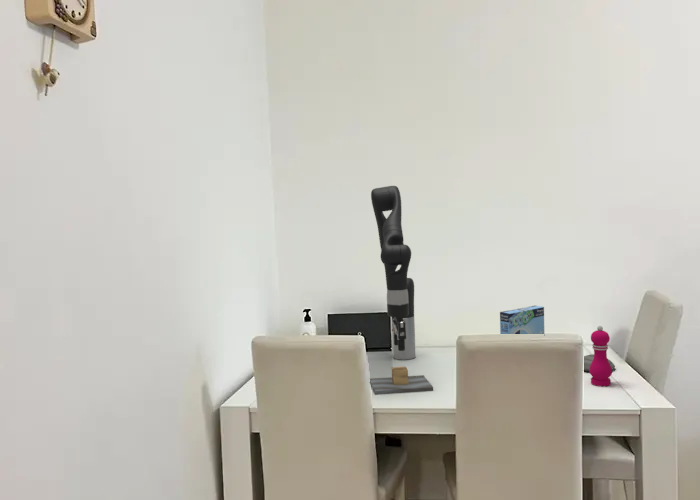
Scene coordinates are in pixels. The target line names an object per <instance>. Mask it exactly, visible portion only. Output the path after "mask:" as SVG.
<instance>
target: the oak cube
mask: <svg viewBox="0 0 700 500" xmlns="http://www.w3.org/2000/svg"><path fill="white" fill-rule="evenodd" d="M408 376H409V369H408V368H407V367H406V366H395V367H394V366H393V367H391V377H392V382H393V384H394V385H404V384H408Z"/></svg>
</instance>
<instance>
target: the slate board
mask: <svg viewBox="0 0 700 500" xmlns="http://www.w3.org/2000/svg"><path fill="white" fill-rule="evenodd" d="M369 379H370V382H369V384H370V386H371V388H372V391H373V394H374V395H386V394H387V395H388V394H390V395H391V394H402V393H403V394H404V393H418V392H419V393H420V392H431V391H432V392H433V391H434V387H433V385H432V384H431V383H430V381H429V380H428V379H427V378H426V376H425V375H424V374H423V375H420V374H419V375H408V384H404V385H394V384H393V382H392V376H391V377H375V378H374V377H373V378H369Z"/></svg>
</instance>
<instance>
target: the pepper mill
mask: <svg viewBox="0 0 700 500" xmlns="http://www.w3.org/2000/svg"><path fill="white" fill-rule="evenodd" d="M603 329H604V328H603V326H601V325H599V326H597V329H596V330H595V331H593V332H592V333H591V335H590V340H591V342H592V343H593V344H591V345H592V349H593V354H594V358H593V361H592V363H591V365H590V369H589V371H588V372H589V374H590V376H592V377H591V378H590V384H591V385H593V386H596V387H609V386H611V384H612V383H611V380H612V379H611V378H610V377H611V376H612V374H613V369H611V366H610V364H609V362H608V360H607V359H608V355H607V351H608V350H609V342H610V339H611V338H610V334H609V333H608V332H607V331H605V330H603Z"/></svg>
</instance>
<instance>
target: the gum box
mask: <svg viewBox="0 0 700 500" xmlns="http://www.w3.org/2000/svg"><path fill="white" fill-rule="evenodd" d="M499 322H500V323H499V327H500V328H499V329H500V330H499V331H500V334H544V335H545V307H544V306H543V305H532V306H531V305H530V306H526V307H521V308H516V309H515V308H514V309H511V310H504V311H500V312H499ZM500 334H499V335H500Z"/></svg>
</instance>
